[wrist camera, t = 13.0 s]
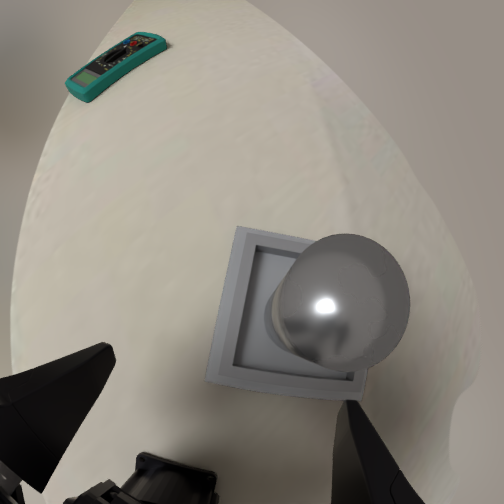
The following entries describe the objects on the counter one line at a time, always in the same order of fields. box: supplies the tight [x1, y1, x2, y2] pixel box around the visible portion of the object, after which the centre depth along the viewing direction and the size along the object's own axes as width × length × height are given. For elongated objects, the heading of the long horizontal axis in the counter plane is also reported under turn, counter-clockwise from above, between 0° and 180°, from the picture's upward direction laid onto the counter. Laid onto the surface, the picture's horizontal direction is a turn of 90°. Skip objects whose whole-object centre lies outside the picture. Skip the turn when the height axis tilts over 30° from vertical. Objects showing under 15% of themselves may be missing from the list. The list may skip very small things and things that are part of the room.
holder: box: [205, 226, 368, 401], centre depth 19 cm, size 12×12×2 cm
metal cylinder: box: [264, 234, 410, 372], centre depth 15 cm, size 6×6×10 cm
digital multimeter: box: [65, 32, 167, 103], centre depth 28 cm, size 7×15×3 cm, turn 141°
